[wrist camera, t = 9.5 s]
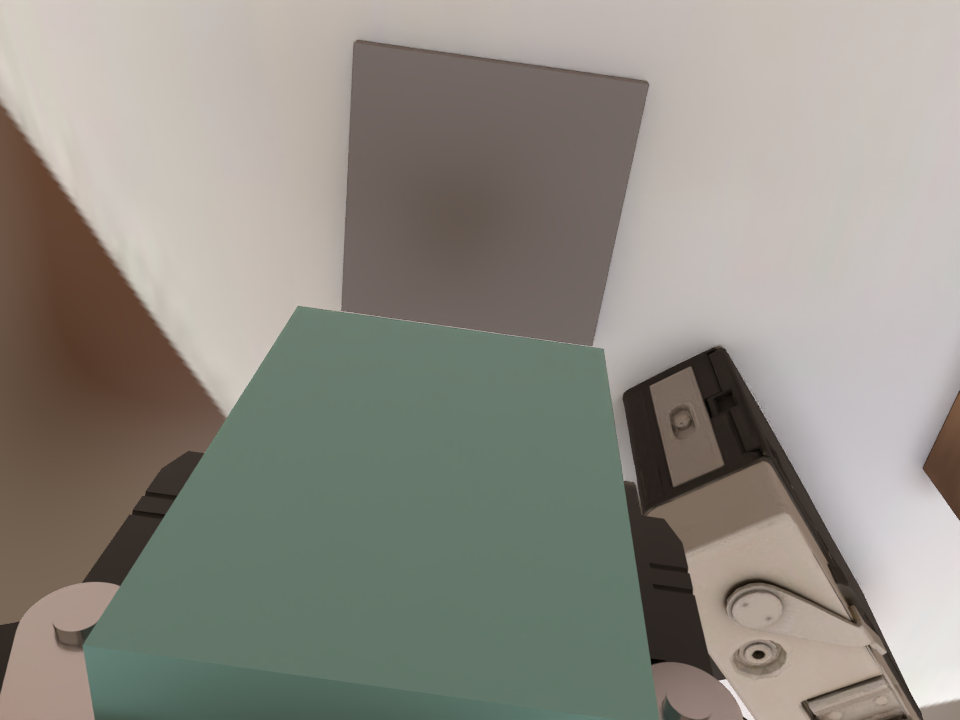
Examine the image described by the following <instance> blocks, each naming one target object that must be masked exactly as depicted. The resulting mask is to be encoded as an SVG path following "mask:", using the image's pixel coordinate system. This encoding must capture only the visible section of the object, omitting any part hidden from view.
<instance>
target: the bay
mask: <svg viewBox="0 0 960 720" xmlns="http://www.w3.org/2000/svg"><path fill="white" fill-rule="evenodd" d="M923 470H924V471H925V472H926V474H927V475H928V477H929V478H930V479H931V481H932V482H933V484H934V485H935V486H936V488H937V489H938V491H939V492H940V494H941V495H942V496H943V498H944V499H945V501H946V502H947V503H948V505H949V506H950V508H951V509H952V511H953V512H954V513H955V515H956V516H957V518H958V519H959V520H960V392H959V394H958V396H957V398H956V400H955V403H954V405H953V407H952V409H951V411H950V413H949V415H948V417H947V419H946V421H945V423H944V425H943V427H942V430H941V432H940V434H939V436H938V438H937V440H936V442H935V444H934V446H933V448H932V450H931V452H930V455H929V457H928V459H927V461H926V463H925V465H924V467H923Z"/></svg>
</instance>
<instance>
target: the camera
mask: <svg viewBox="0 0 960 720" xmlns="http://www.w3.org/2000/svg"><path fill="white" fill-rule="evenodd" d="M715 350H716V349H715V348H712V349H710V350H708V351H706V352H703V353H701V354H699V355H697V356H695V357H693V358H691V359H688V360H686V361H684V362H682V363H680V364H678V365H676V366H674V367H672V368H670V369H668V370H666V371H664V372H662V373H660V374H658V375H656V376H654V377H652V378H650V379H648V380H646V381H644V382H642V383H641V384H639V385H637V386H635V387H633V388H631V389H629V390H628V391H627V392H625V393H624V396H623V402H624V406H625V412H626V418H627V424H628V430H629V436H630V442H631V448H632V454H633V460H634V465H635V469H636V476H637V483H638V489H639V495H640V500H641V505H642V513H643V516H649V517H656V518H663V519H665V520H666V522H667V523H668V524H669V526H670V527H671V528H672V530H673V531H674V532H675V534H676V535H677V536H678V537H679V539H680V540H681V541H682V543H683V547H684V551H685V556H686V560H687V564H688V568H689V569H688V573H690V577H691V581H692V586H693V595H695V598H696V603H697V607H698V611H699V616H700V620H701V624H702V628H703V633H704V637H705V641H706V646H707V650H708V654H709V659H710V663H711V667H712V671H713V675H714V678H716V679H717V680H724V679H727V680H728V682H729V683H730V685H731V686H732V687H733V689H734V690H735V692H736V693H737V695H738V696H739V697H740V699H741V700H742V702H743V703H744V704H745V706H746V707H747V709H748V710H749V712H750V713H751V714H752V716H753V717H754V719H755V720H923V718H922V714H921V711H920V709H919V708H918V706H917V704H916V702H915V701H914V699H913V697H912V695H911V693H910V691H909V689H908V687H907V685H906V683H905V680H904V678H903V676H902V674H901V672H900V670H899V668H898V666H897V664H896V661H895V659H894V657H893V655H892V653H891V651H890V649H889V647H888V645H887V643H886V641H885V639H884V637H883V635H882V632H881V630H880V628H879V626H878V624H877V622H876V620H875V618H874V616H873V613H872V611H871V609H870V607H869V605H868V603H867V601H866V599H865V596H864V594H863V592H862V590H861V589H860V587H859V585H858V583H857V582H856V580H855V578H854V576H853V575H852V573H851V571H850V569H849V568H848V566H847V564H846V562H845V560H844V559H843V557H842V555H841V553H840V552H839V550H838V548H837V546H836V545H835V543H834V541H833V539H832V537H831V536H830V534H829V532H828V530H827V528H826V526H825V525H824V523H823V521H822V519H821V517H820V515H819V514H818V512H817V510H816V508H815V506H814V504H813V502H812V501H811V499H810V497H809V495H808V493H807V491H806V490H805V488H804V486H803V484H802V482H801V481H800V479H799V477H798V475H797V473H796V472H795V470H794V468H793V466H792V464H791V463H790V461H789V459H788V457H787V456H786V454H785V452H784V450H783V449H782V447H781V445H780V443H779V441H778V440H777V438H776V436H775V434H774V433H773V431H772V429H771V427H770V426H769V424H768V422H767V420H766V418H765V417H764V415H763V413H762V411H761V410H760V408H759V406H758V405H757V403H756V401H755V399H754V398H753V396H752V394H751V393H750V391H749V389H748V387H747V386H746V384H745V382H744V380H743V379H742V377H741V375H740V373H739V372H738V370H737V368H736V366H735V365H734V363H733V361H732V360H731V358H730V356H729V355H728V353H727V351H726V350H725V349H723V348H721V349H719V350H716V351H715Z"/></svg>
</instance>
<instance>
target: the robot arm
mask: <svg viewBox="0 0 960 720" xmlns="http://www.w3.org/2000/svg"><path fill="white" fill-rule="evenodd" d="M203 455H204V453H199V452H191V451H188V452H186V453H185V454H183V455H182V456H180V457H179V458H177V459H176V460H174V461H173V462H171V463H169V464H168V465H167V466H165V467H163V468H162V469H161V470H160V472H159V473H158V475H157V476H156V477H155V479H154V480H153V482H152V483H151V485H150V486H149V488H148V489H147V490H146V494H145V496H142V497H141V499H140V500H139V502H138V503H137V505H136V506H135V507H134V509H133V513H132V515H129V516H128V518H127V519H126V521H125V522H124V523H123V525H122V526H121V528H120V529H119V531H118V532H117V533H116V535H115V537H114V538H113V539H112V540H111V542H110V543H109V545H108V546H107V548H106V549H105V551H104V552H103V554H102V555H101V556H100V558H99V559H98V561H97V562H96V564H95V565H94V566H93V568H92V569H91V571H90V572H89V574H88V575H87V577H86V578H85V579H84V581H83V582H82V583H81V584H76V585H72V586H68V587H65V588H62V589H60V590H57V591H55V592H53V593H51V594H49V595H47V596H46V597H44V598H43V599H41V600H40V601H38V602H37V603H36V604H34V605H33V606H32V607H31V608H30V609H29V610H28V611H27V612H26V614H25V615H24V616H23V618H22V619H21V621H19V622H16V623H10V624H4V625H0V720H95V718H94V712H93V706H92V700H91V694H90V687H89V681H88V675H87V669H86V663H85V657H84V651H83V644H84V642H85V641H86V639H87V638H88V636H89V634H90V633H91V631H92V630H93V628H94V627H95V625H96V623H97V622H98V620H99V619H100V617H101V616H102V614H103V612H104V611H105V609H106V608H107V606H108V605H109V603H110V601H111V600H112V598H113V597H114V595H115V593H116V592H117V590H118V589H119V587H120V586H121V584H122V582H123V581H124V579H125V578H126V576H127V575H128V573H129V571H130V570H131V568H132V567H133V565H134V564H135V562H136V560H137V559H138V557H139V556H140V554H141V553H142V551H143V549H144V548H145V546H146V545H147V543H148V542H149V540H150V538H151V537H152V535H153V534H154V532H155V530H156V529H157V527H158V526H159V524H160V523H161V521H162V519H163V518H164V516H165V515H166V513H167V512H168V510H169V508H170V507H171V505H172V504H173V502H174V501H175V499H176V497H177V496H178V494H179V493H180V491H181V490H182V488H183V486H184V485H185V483H186V482H187V480H188V479H189V477H190V475H191V474H192V472H193V471H194V469H195V468H196V466H197V464H198V463H199V461H200V460H201V458H202V456H203ZM624 488H625V495H626V501H627V508H628V514H629V521H630V528H631V534H632V541H633V548H634V554H635V561H636V567H637V574H638V581H639V587H640V594H641V601H642V607H643V614H644V620H645V627H646V634H647V640H648V647H649V653H650V660H651V667H652V673H653V680H654V687H655V693H656V700H657V706H658V713H659V720H747V719H746V718H744V717H743V715H742V712H741V710H740V707H739V705H738V703H737V701H736V700H735V698H734V697H733V695H732V694H731V693H730V691H729V690H728V689H727V688H726V687H725V686H724V685H723V684H722V683H721V682H719V681H718V680H717V679H716V678H714V675H713V671H712V667H711V663H710V659H709V654H708V650H707V646H706V641H705V637H704V633H703V628H702V624H701V620H700V616H699V611H698V607H697V603H696V598H695V595H693V586H692V581H691V577H690V573H688V569H689V568H688V564H687V560H686V556H685V551H684V547H683V543H682V541H681V540H680V539H679V537H678V536H677V535H676V534H675V532H674V531H673V530H672V528H671V527H670V526H669V524H668V523H667V522H666V520H665V519H663V518H656V517H649V516H642V515H641V513H640V507H639V501H638V495H637V490H636V485H635V483H634V482H628V481H624Z"/></svg>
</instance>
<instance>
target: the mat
mask: <svg viewBox="0 0 960 720" xmlns="http://www.w3.org/2000/svg"><path fill="white" fill-rule="evenodd" d="M648 87H649V84H648V82H647V81H642V80H635V79H628V78H621V77H614V76H607V75H600V74H593V73H586V72H578V71H571V70H564V69H557V68H550V67H543V66H536V65H529V64H522V63H515V62H508V61H501V60H494V59H487V58H480V57H473V56H466V55H459V54H452V53H445V52H438V51H431V50H423V49H416V48H409V47H402V46H395V45H388V44H381V43H374V42H367V41H360V40H357V41H356V42H354V47H353V69H352V91H351V112H350V134H349V156H348V178H347V199H346V221H345V243H344V265H343V287H342V308H341V311H346V312H354V313H361V314H368V315H375V316H382V317H389V318H396V319H403V320H410V321H417V322H424V323H431V324H439V325H446V326H453V327H460V328H467V329H474V330H481V331H488V332H495V333H502V334H509V335H516V336H523V337H531V338H538V339H545V340H552V341H559V342H566V343H573V344H580V345H587V346H592V345H593V340H594V336H595V331H596V327H597V322H598V317H599V313H600V308H601V303H602V299H603V294H604V290H605V285H606V280H607V276H608V271H609V267H610V262H611V257H612V253H613V248H614V244H615V239H616V234H617V230H618V225H619V221H620V216H621V211H622V207H623V202H624V197H625V193H626V188H627V184H628V179H629V174H630V170H631V165H632V161H633V156H634V151H635V147H636V142H637V138H638V133H639V128H640V124H641V119H642V115H643V110H644V105H645V101H646V96H647V91H648Z"/></svg>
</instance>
